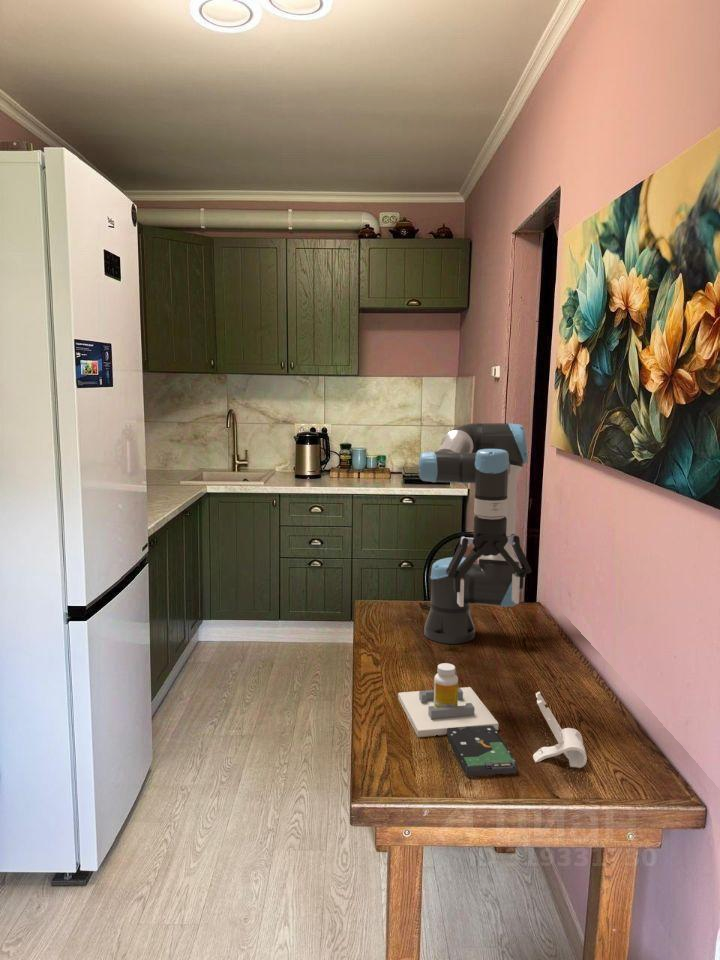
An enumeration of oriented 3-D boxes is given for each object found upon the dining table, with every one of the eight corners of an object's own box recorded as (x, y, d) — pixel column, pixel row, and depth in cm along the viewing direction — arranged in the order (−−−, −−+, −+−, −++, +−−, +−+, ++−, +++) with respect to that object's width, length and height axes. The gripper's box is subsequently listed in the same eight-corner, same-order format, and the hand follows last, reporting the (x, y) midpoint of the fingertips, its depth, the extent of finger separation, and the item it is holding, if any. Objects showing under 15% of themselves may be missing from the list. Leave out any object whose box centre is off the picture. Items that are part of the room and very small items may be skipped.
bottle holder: (398, 698, 157) (398, 684, 157) (470, 692, 160) (470, 679, 160) (417, 737, 139) (418, 721, 139) (498, 729, 143) (498, 714, 142)
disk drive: (445, 740, 140) (466, 779, 125) (445, 727, 139) (466, 765, 125) (492, 736, 141) (518, 775, 126) (493, 724, 141) (518, 762, 126)
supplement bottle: (460, 712, 147) (461, 670, 146) (437, 713, 147) (438, 672, 145) (453, 700, 153) (454, 660, 151) (430, 702, 152) (431, 662, 150)
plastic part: (586, 769, 128) (589, 713, 127) (533, 762, 130) (536, 707, 129) (581, 748, 135) (585, 695, 134) (531, 743, 138) (534, 690, 136)
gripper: (442, 521, 147) (441, 611, 151) (548, 517, 151) (544, 605, 154) (434, 514, 155) (432, 600, 158) (534, 510, 158) (531, 595, 162)
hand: (487, 603), depth 156 cm, fingers open, 13 cm apart
